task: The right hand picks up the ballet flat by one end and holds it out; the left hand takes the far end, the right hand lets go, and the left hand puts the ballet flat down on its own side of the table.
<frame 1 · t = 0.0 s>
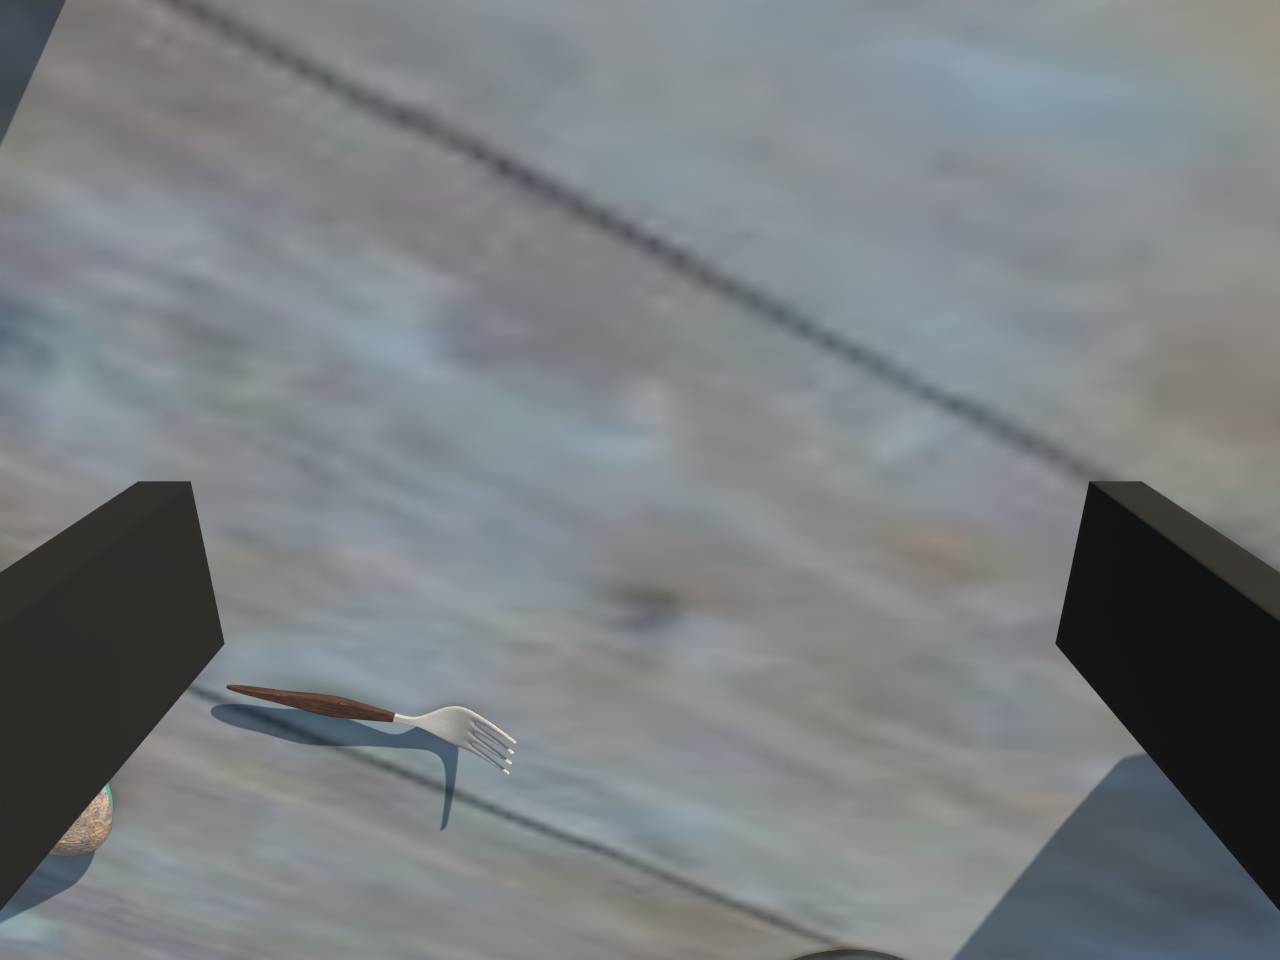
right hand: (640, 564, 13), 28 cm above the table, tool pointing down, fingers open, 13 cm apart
fork: (377, 706, 47), on the table
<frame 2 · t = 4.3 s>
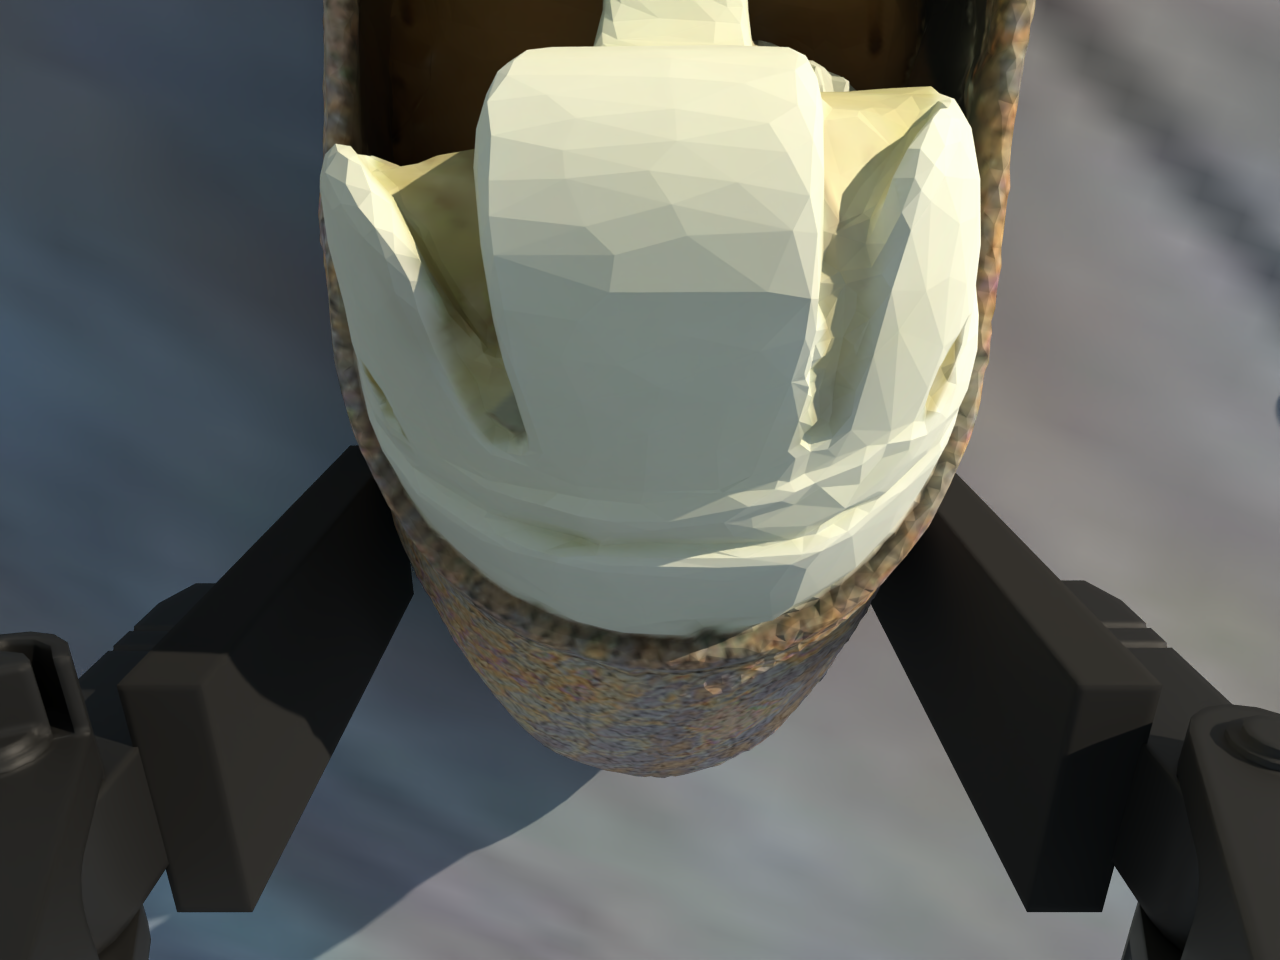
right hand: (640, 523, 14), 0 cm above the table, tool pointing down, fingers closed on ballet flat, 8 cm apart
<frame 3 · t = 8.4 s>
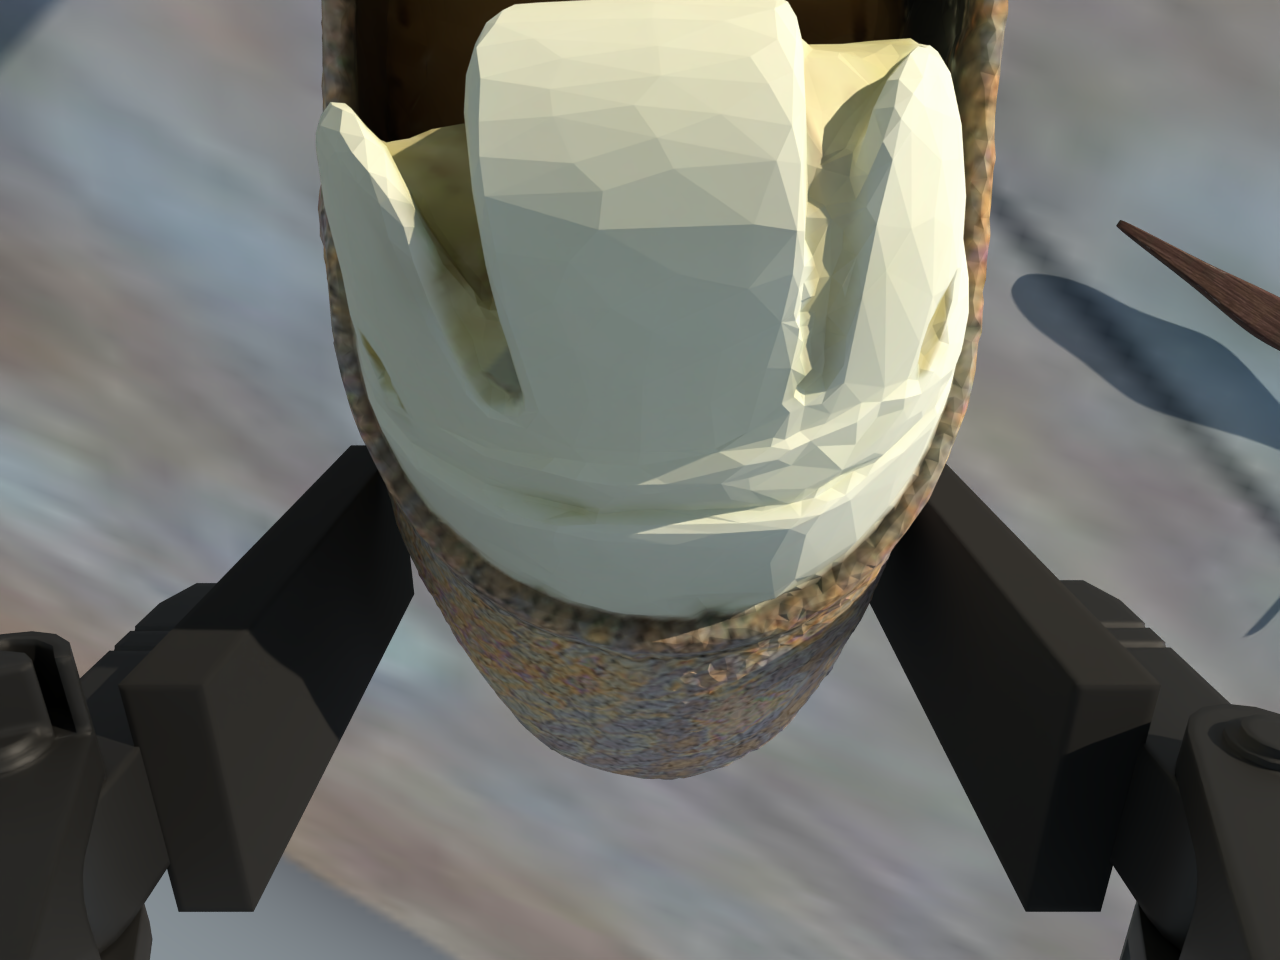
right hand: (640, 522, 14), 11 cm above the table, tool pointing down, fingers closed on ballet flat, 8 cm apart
when the right hand's fingers open (11 cm above the table, at t = 9.4 s): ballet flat stays where it is, held by the left hand.
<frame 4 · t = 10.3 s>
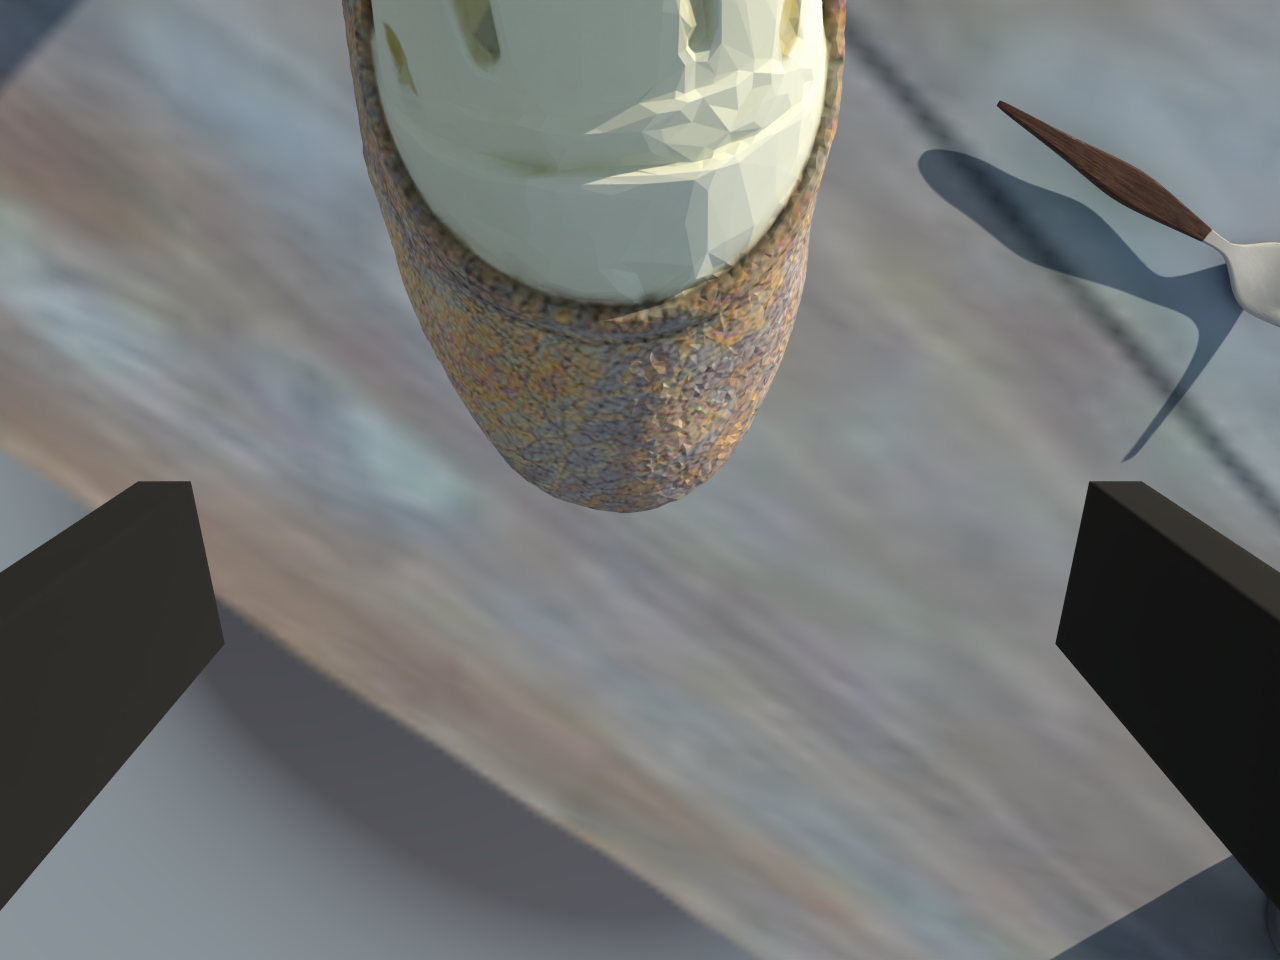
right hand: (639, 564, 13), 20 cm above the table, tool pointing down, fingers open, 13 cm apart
fork: (1169, 217, 30), on the table
when the left hand's fingers open (5 cm above the table, at t = 17.1 s): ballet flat stays where it is, on the table.
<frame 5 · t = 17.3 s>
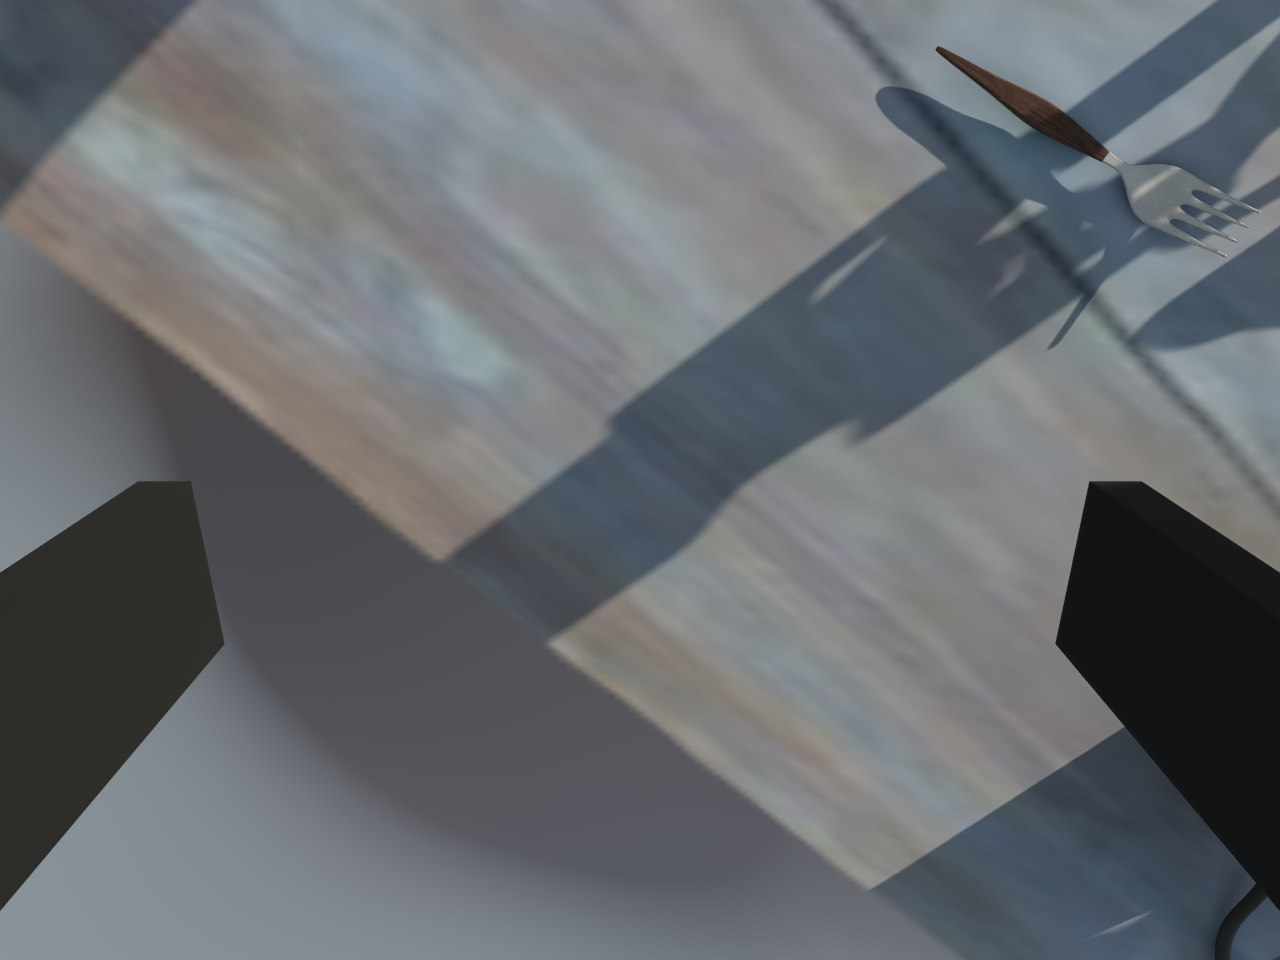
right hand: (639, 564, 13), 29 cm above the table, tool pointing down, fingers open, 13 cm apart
fork: (1077, 143, 38), on the table
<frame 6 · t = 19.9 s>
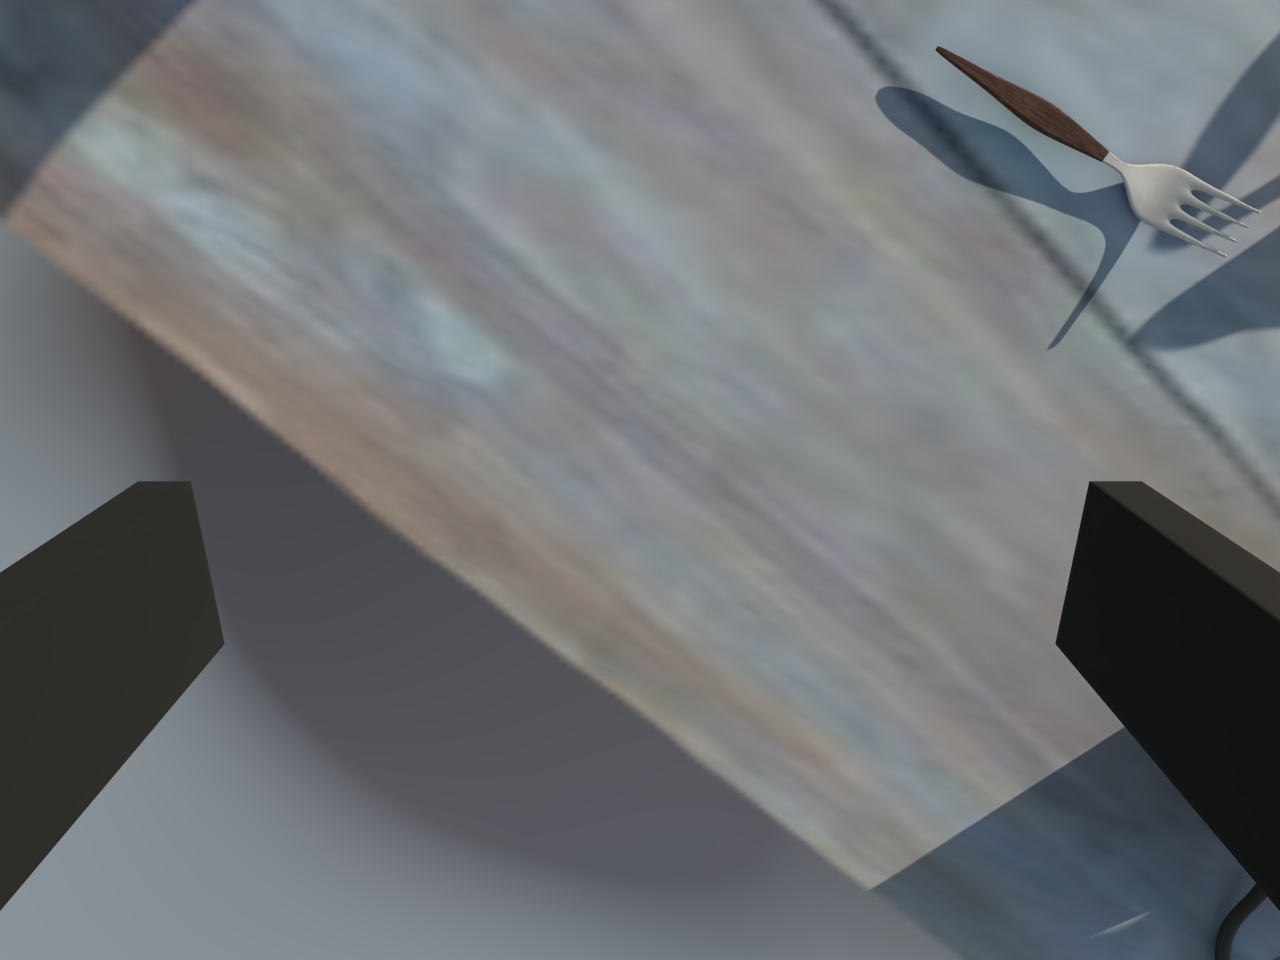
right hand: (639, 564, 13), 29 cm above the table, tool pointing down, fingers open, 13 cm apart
fork: (1077, 143, 38), on the table
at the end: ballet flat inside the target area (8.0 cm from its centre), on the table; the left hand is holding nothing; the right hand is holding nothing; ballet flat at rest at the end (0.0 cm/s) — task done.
